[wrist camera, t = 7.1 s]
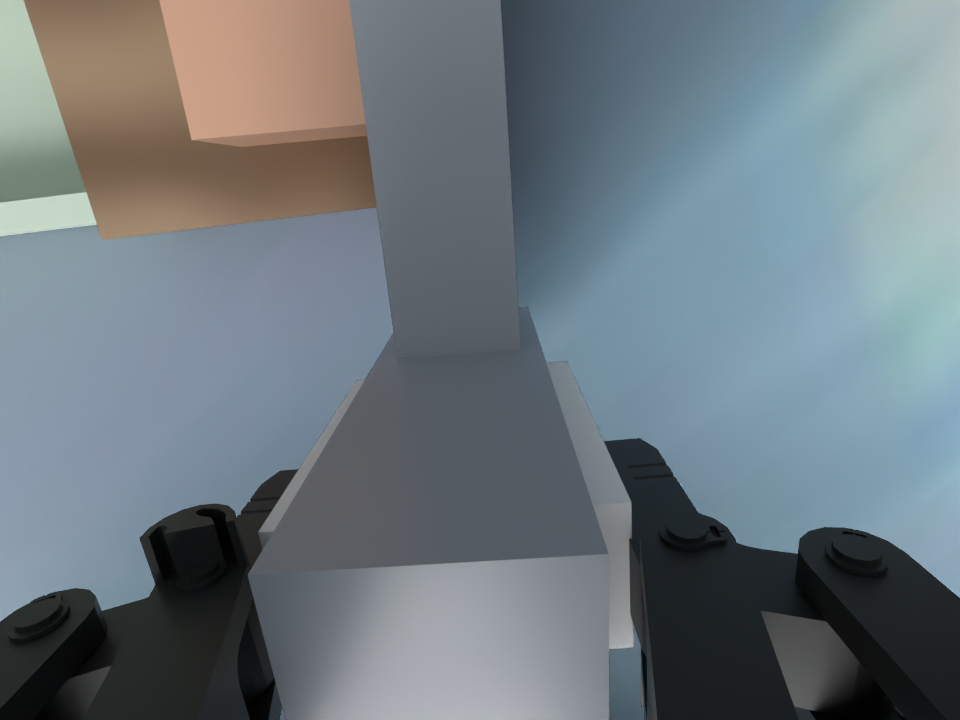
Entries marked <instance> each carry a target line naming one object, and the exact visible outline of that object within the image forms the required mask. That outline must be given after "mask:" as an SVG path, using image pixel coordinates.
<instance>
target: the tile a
mask: <svg viewBox="0 0 960 720" xmlns="http://www.w3.org/2000/svg"><path fill="white" fill-rule="evenodd" d="M159 1H160V5H161V10H162V14H163V18H164V23H165V27H166V31H167V36H168V40H169V44H170V49H171V53H172V57H173V62H174V66H175V70H176V75H177V79H178V83H179V88H180V92H181V96H182V101H183V105H184V109H185V114H186V118H187V122H188V127H189V131H190V135H191V140H195V141H203V142H210V143H217V144H224V145H231V146H238V147H247V146H258V145H270V144H281V143H292V142H303V141H314V140H326V139H337V138H348V137H359V136H367V130H366V123H365V115H364V108H363V100H362V93H361V86H360V78H359V71H358V63H357V56H356V48H355V41H354V33H353V26H352V18H351V11H350V3H349V0H159Z"/></svg>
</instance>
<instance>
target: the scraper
mask: <svg viewBox="0 0 960 720" xmlns="http://www.w3.org/2000/svg"><path fill="white" fill-rule="evenodd" d="M349 3H350V11H351V18H352V26H353V33H354V41H355V48H356V56H357V63H358V71H359V78H360V86H361V93H362V100H363V108H364V115H365V123H366V130H367V138H368V145H369V153H370V160H371V168H372V175H373V182H374V190H375V197H376V205H377V212H378V220H379V227H380V235H381V242H382V250H383V257H384V264H385V272H386V279H387V287H388V294H389V302H390V309H391V317H392V324H393V332H394V333H393V334H392V336H391V338H390V339H389V341H388V343H387V344H386V346H385V348H384V349H383V351H382V353H381V354H380V356H379V358H378V359H377V361H376V363H375V364H374V366H373V368H372V369H371V371H370V373H369V374H368V376H367V377H366V379H365V381H364V382H363V384H362V386H361V387H360V389H359V391H358V392H357V394H356V396H355V397H354V399H353V401H352V402H351V404H350V406H349V407H348V409H347V411H346V412H345V414H344V416H343V417H342V419H341V421H340V422H339V424H338V426H337V427H336V429H335V431H334V432H333V434H332V436H331V437H330V439H329V441H328V442H327V444H326V446H325V447H324V449H323V451H322V452H321V454H320V456H319V457H318V459H317V461H316V462H315V464H314V465H313V467H312V469H311V470H310V472H309V474H308V475H307V477H306V479H305V480H304V482H303V484H302V485H301V487H300V489H299V490H298V492H297V494H296V495H295V497H294V499H293V500H292V502H291V504H290V505H289V507H288V509H287V510H286V512H285V514H284V515H283V517H282V519H281V520H280V522H279V524H278V525H277V527H276V529H275V530H274V532H273V534H272V535H271V537H270V539H269V540H268V542H267V544H266V545H265V547H264V548H263V550H262V552H261V553H260V555H259V557H258V558H257V560H256V562H255V563H254V565H253V567H252V568H251V570H250V572H249V573H248V579H249V583H250V586H251V590H252V594H253V598H254V602H255V605H256V609H257V613H258V617H259V621H260V625H261V628H262V632H263V636H264V640H265V644H266V648H267V651H268V655H269V659H270V663H271V667H272V670H273V674H274V678H275V682H276V686H277V690H278V693H279V697H280V701H281V705H282V709H283V713H284V716H285V720H609V553H608V550H607V547H606V544H605V541H604V538H603V535H602V532H601V529H600V526H599V523H598V520H597V517H596V514H595V511H594V508H593V504H592V501H591V498H590V495H589V492H588V489H587V486H586V483H585V480H584V477H583V474H582V471H581V468H580V465H579V462H578V459H577V456H576V452H575V449H574V446H573V443H572V440H571V437H570V434H569V431H568V428H567V425H566V422H565V419H564V416H563V413H562V410H561V407H560V403H559V400H558V397H557V394H556V391H555V388H554V385H553V382H552V379H551V376H550V373H549V370H548V367H547V364H546V361H545V358H544V355H543V351H542V348H541V345H540V342H539V339H538V336H537V333H536V330H535V327H534V324H533V321H532V318H531V315H530V312H529V309H528V307H518V293H517V276H516V258H515V241H514V223H513V206H512V188H511V171H510V154H509V136H508V119H507V101H506V84H505V67H504V49H503V32H502V14H501V0H349Z"/></svg>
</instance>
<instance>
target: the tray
mask: <svg viewBox="0 0 960 720" xmlns="http://www.w3.org/2000/svg"><path fill="white" fill-rule="evenodd" d="M91 225H97V223H96V220H95V217H94V214H93V211H92V208H91V205H90V202H89V199H88V196H87V193H86V190H85V187H84V183H83V180H82V177H81V174H80V171H79V168H78V165H77V162H76V159H75V156H74V153H73V150H72V147H71V144H70V141H69V138H68V135H67V132H66V128H65V125H64V122H63V119H62V116H61V113H60V110H59V107H58V104H57V101H56V98H55V95H54V92H53V89H52V86H51V83H50V80H49V77H48V73H47V70H46V67H45V64H44V61H43V58H42V55H41V52H40V49H39V46H38V43H37V40H36V37H35V34H34V31H33V28H32V25H31V22H30V19H29V15H28V12H27V9H26V6H25V3H24V0H0V236H8V235H17V234H25V233H33V232H41V231H50V230H58V229H66V228H75V227H83V226H91Z"/></svg>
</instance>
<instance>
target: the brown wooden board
mask: <svg viewBox="0 0 960 720" xmlns="http://www.w3.org/2000/svg"><path fill="white" fill-rule="evenodd" d="M24 3H25V6H26V9H27V12H28V15H29V19H30V22H31V25H32V28H33V31H34V34H35V37H36V40H37V43H38V46H39V49H40V52H41V55H42V58H43V61H44V64H45V67H46V70H47V73H48V77H49V80H50V83H51V86H52V89H53V92H54V95H55V98H56V101H57V104H58V107H59V110H60V113H61V116H62V119H63V122H64V125H65V128H66V132H67V135H68V138H69V141H70V144H71V147H72V150H73V153H74V156H75V159H76V162H77V165H78V168H79V171H80V174H81V177H82V180H83V183H84V187H85V190H86V193H87V196H88V199H89V202H90V205H91V208H92V211H93V214H94V217H95V220H96V223H97V226H98V229H99V232H100V235H101V238H102V240H105V239H114V238H122V237H131V236H139V235H147V234H156V233H164V232H173V231H181V230H189V229H198V228H206V227H214V226H223V225H231V224H240V223H248V222H256V221H265V220H273V219H282V218H290V217H298V216H307V215H315V214H324V213H332V212H340V211H349V210H357V209H365V208H374V207H377V205H376V197H375V190H374V182H373V175H372V168H371V160H370V153H369V145H368V138H367V136H359V137H348V138H337V139H326V140H314V141H303V142H292V143H281V144H270V145H258V146H247V147H238V146H231V145H224V144H217V143H210V142H203V141H195V140H191V135H190V131H189V127H188V122H187V118H186V114H185V109H184V105H183V101H182V96H181V92H180V88H179V83H178V79H177V75H176V70H175V66H174V62H173V57H172V53H171V49H170V44H169V40H168V36H167V31H166V27H165V23H164V18H163V14H162V10H161V5H160V1H159V0H24Z"/></svg>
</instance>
